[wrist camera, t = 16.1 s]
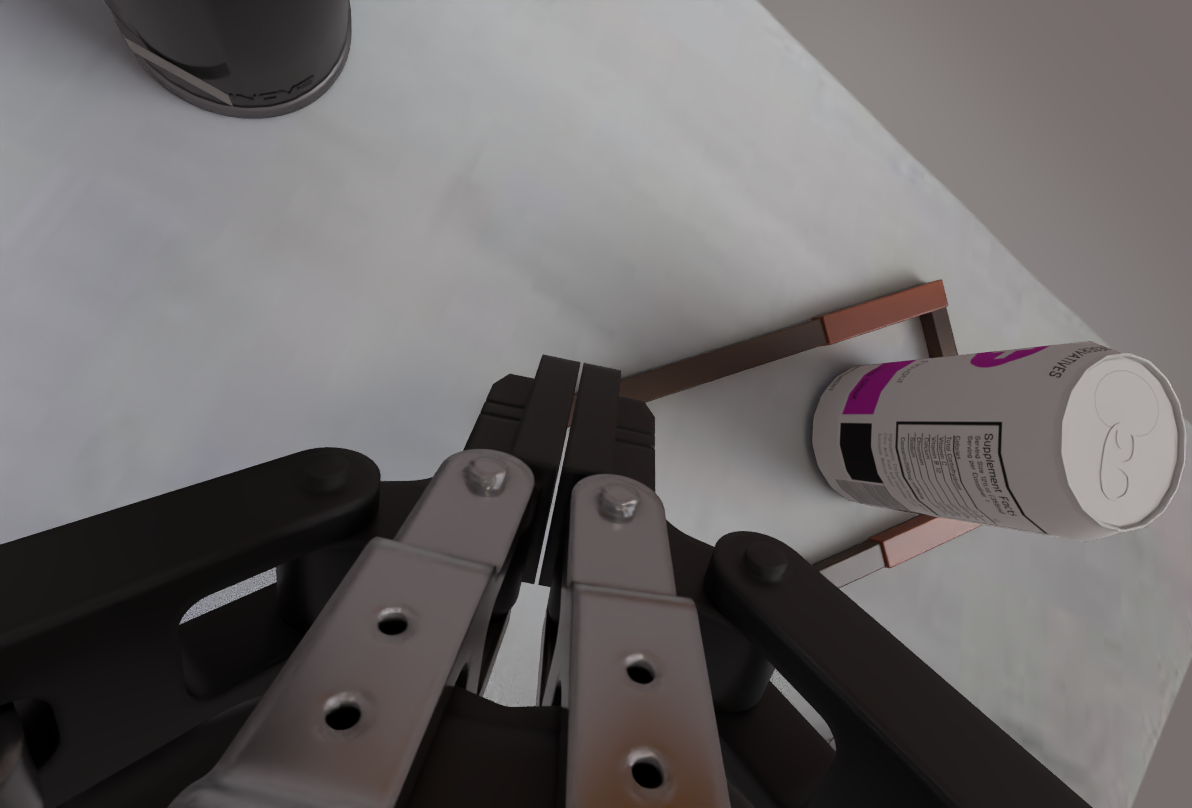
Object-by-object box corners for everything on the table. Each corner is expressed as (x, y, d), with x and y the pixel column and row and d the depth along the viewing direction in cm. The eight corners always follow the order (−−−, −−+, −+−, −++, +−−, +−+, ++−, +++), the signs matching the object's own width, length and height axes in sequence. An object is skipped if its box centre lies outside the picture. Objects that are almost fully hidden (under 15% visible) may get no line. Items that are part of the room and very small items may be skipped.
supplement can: (818, 350, 40) (1067, 312, 26) (928, 385, 43) (1209, 368, 29) (791, 487, 40) (1032, 525, 25) (905, 514, 42) (1181, 563, 28)
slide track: (499, 414, 34) (504, 414, 33) (927, 282, 43) (942, 278, 42) (585, 698, 35) (592, 708, 34) (985, 514, 44) (1001, 516, 43)
